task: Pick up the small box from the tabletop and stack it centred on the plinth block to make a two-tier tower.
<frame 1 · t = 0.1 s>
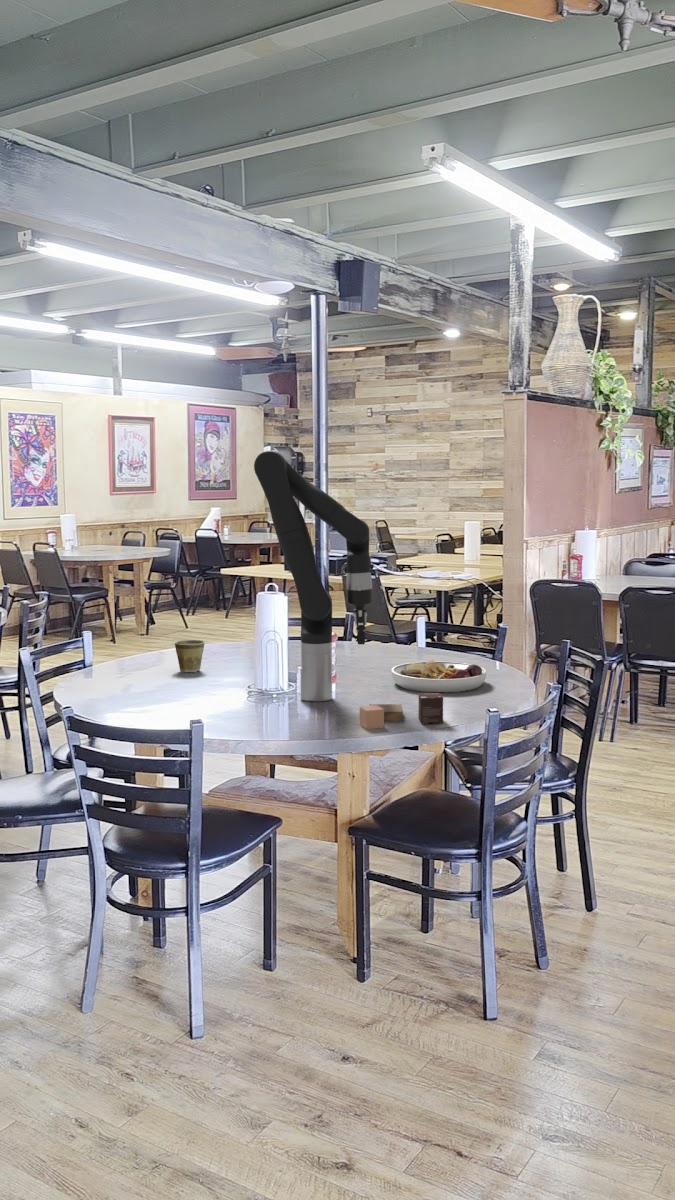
hand: (361, 641, 298), 17 cm above the table, tool pointing down, fingers open, 8 cm apart
ceramic cup: (191, 670, 345), on the table
bowl: (438, 685, 321), on the table
terracotta block: (371, 726, 268), on the table
box: (430, 722, 272), on the table
plinth: (385, 718, 278), on the table
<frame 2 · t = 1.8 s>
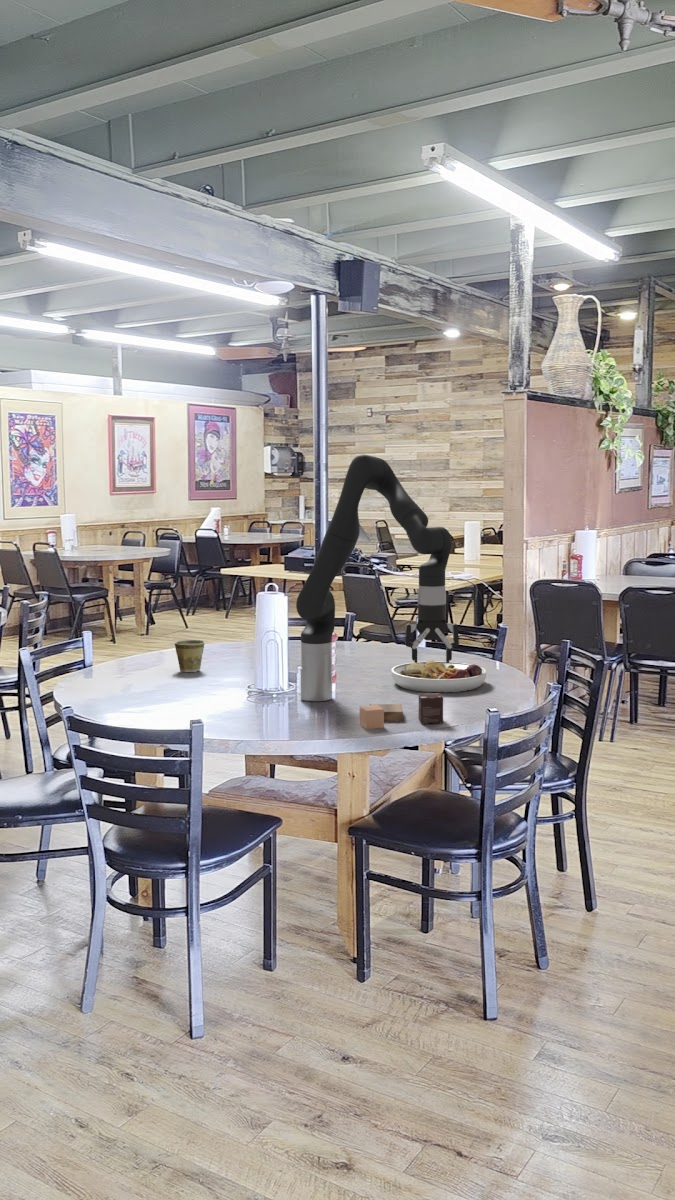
hand: (431, 662, 270), 16 cm above the table, tool pointing down, fingers open, 8 cm apart
nothing on the table moved.
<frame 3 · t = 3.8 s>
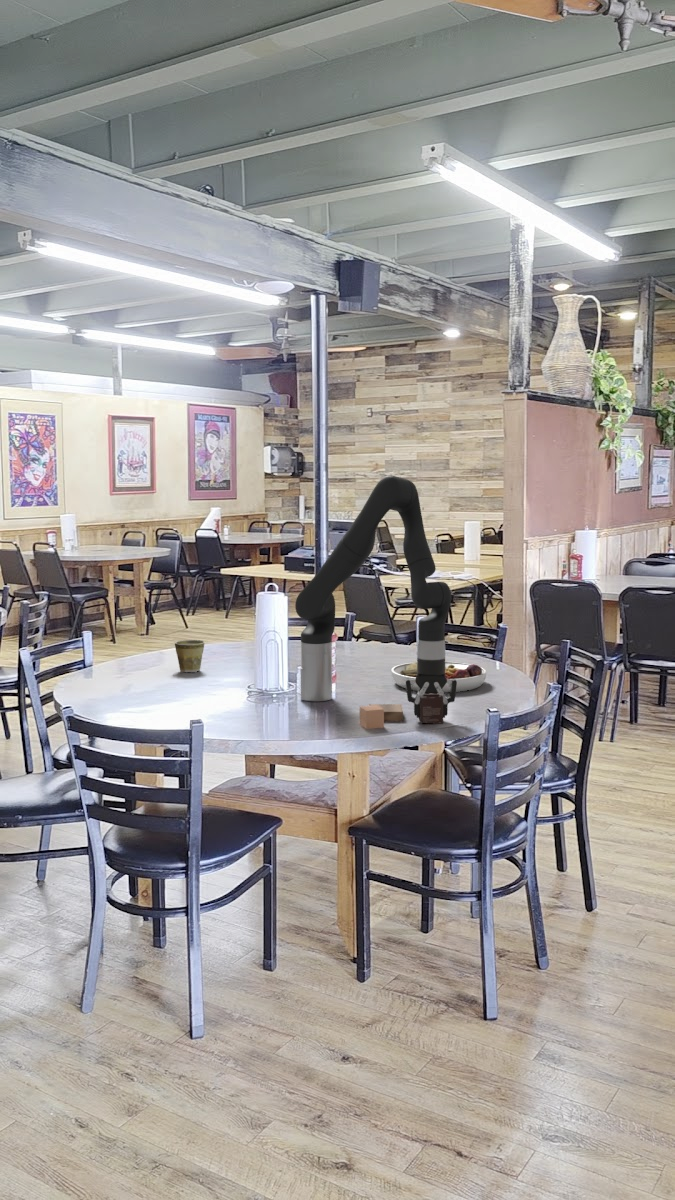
hand: (430, 716, 272), 1 cm above the table, tool pointing down, fingers closed on box, 6 cm apart
box: (430, 722, 272), on the table, touching gripper
everything else where it was.
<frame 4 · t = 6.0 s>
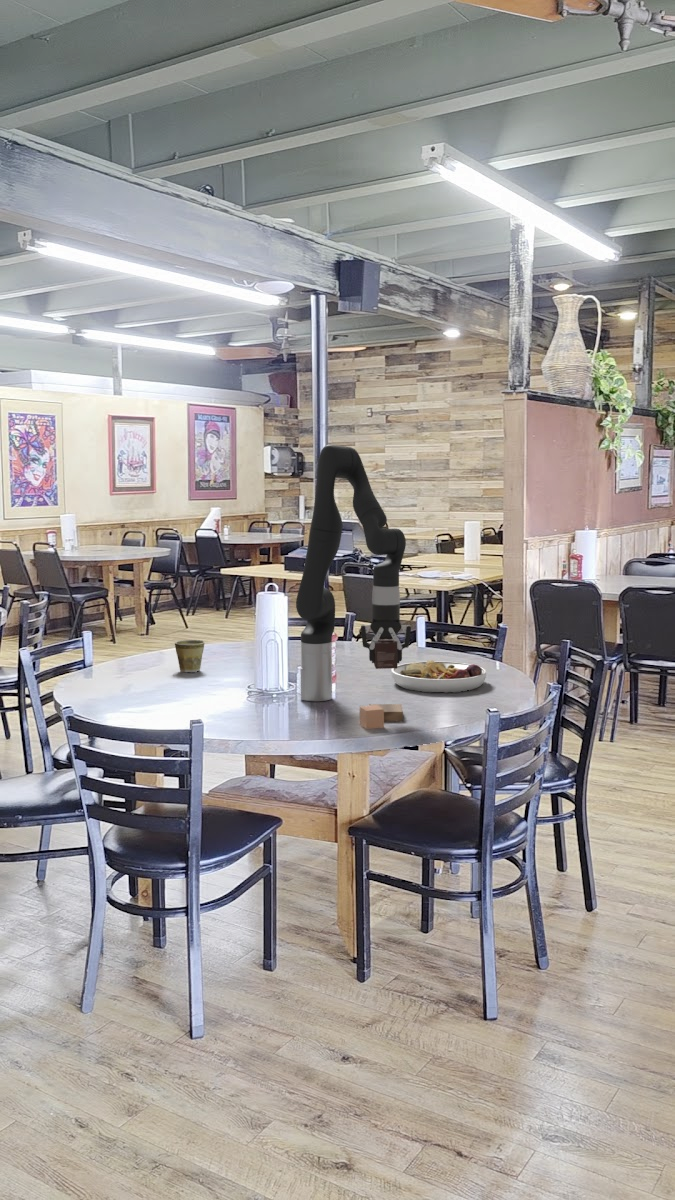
hand: (385, 662, 276), 15 cm above the table, tool pointing down, fingers closed on box, 6 cm apart
box: (385, 667, 276), point 14 cm above the table, touching gripper
everything else where it was.
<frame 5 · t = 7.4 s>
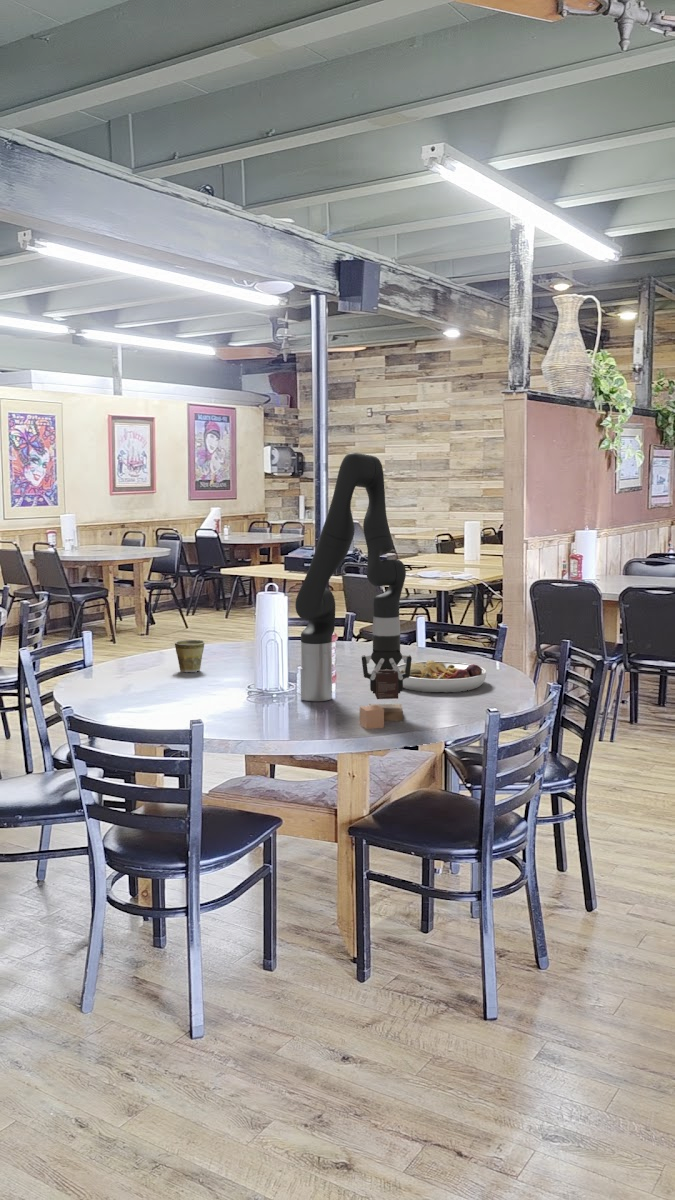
hand: (386, 692, 277), 7 cm above the table, tool pointing down, fingers closed on box, 6 cm apart
box: (386, 697, 277), point 5 cm above the table, touching gripper
everything else where it was.
when the fingers open (5 cm above the table, at t = 8.3 s): box drops 1 cm, point 2 cm above the table.
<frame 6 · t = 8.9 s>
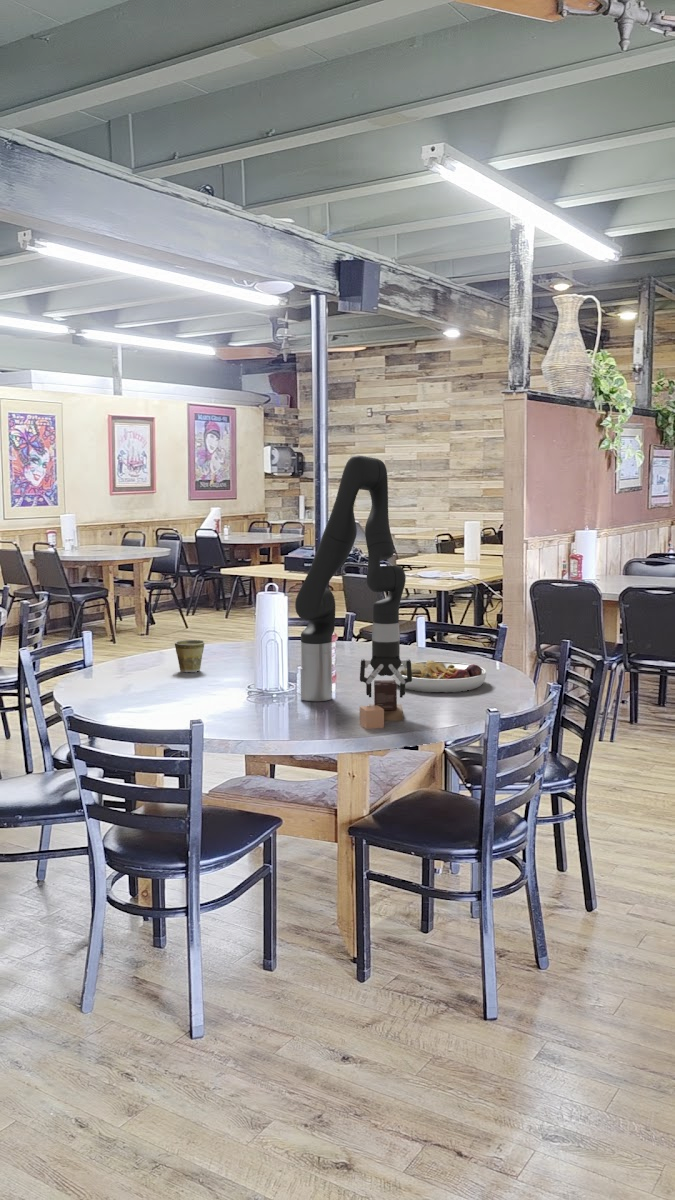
hand: (385, 696, 277), 6 cm above the table, tool pointing down, fingers open, 8 cm apart
box: (385, 709, 277), point 2 cm above the table
everything else where it was.
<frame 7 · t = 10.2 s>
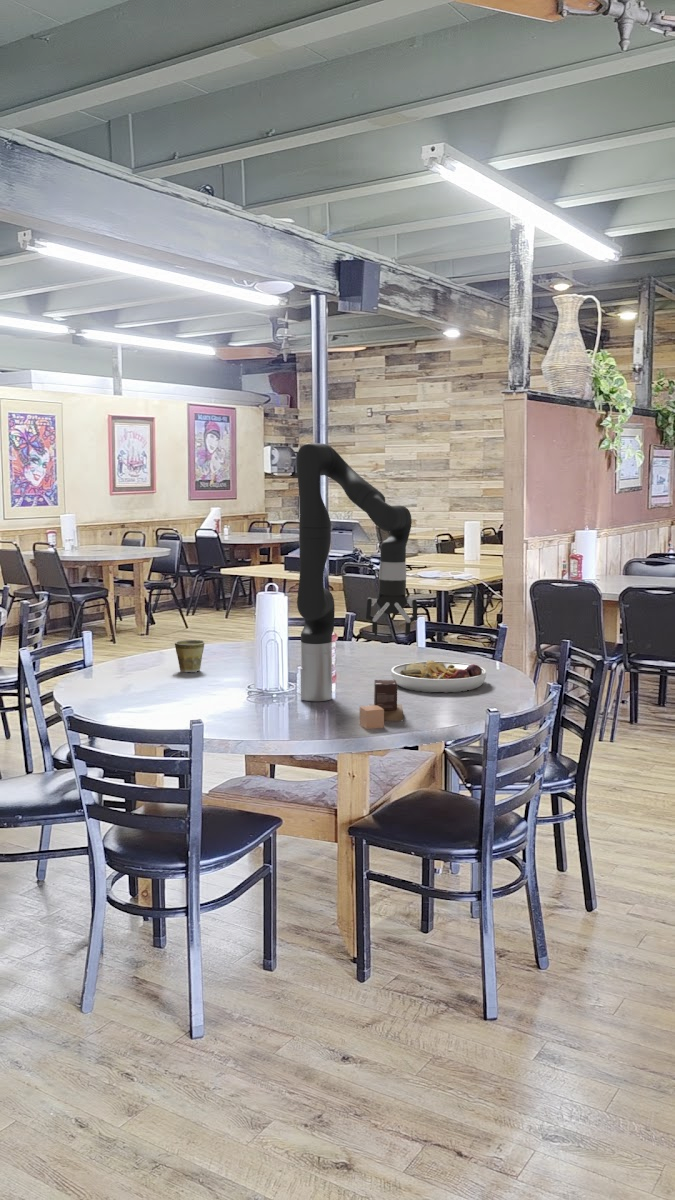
hand: (391, 635, 282), 22 cm above the table, tool pointing down, fingers open, 8 cm apart
nothing on the table moved.
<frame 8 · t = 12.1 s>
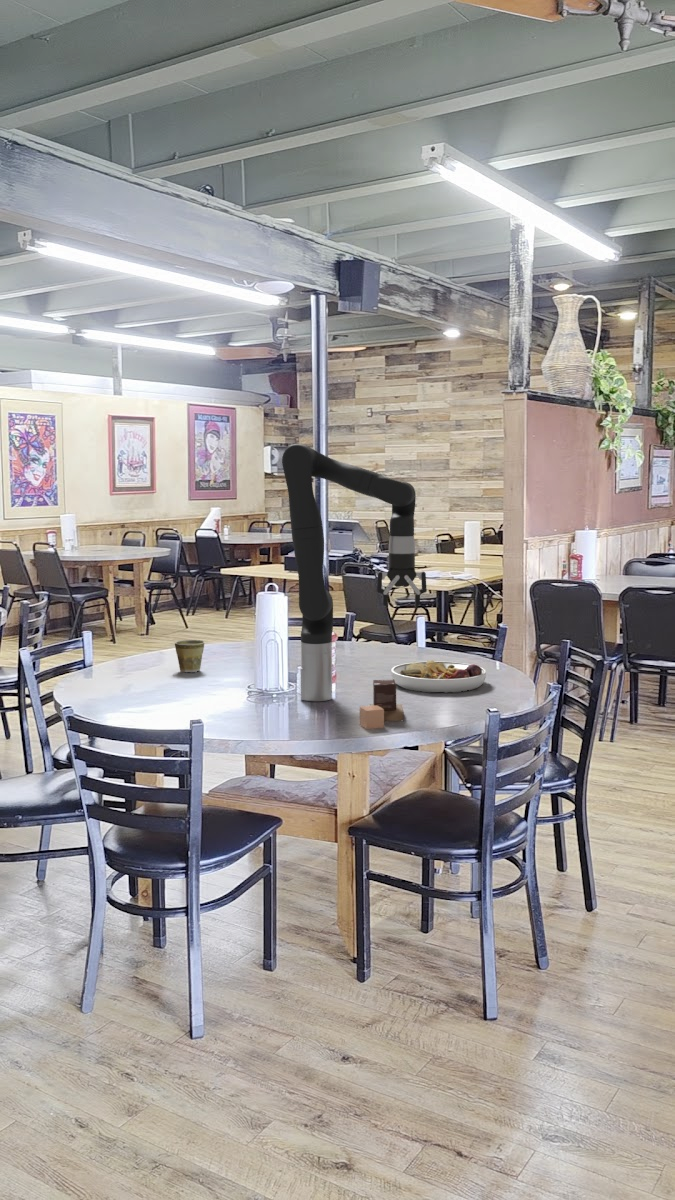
hand: (401, 607, 292), 28 cm above the table, tool pointing down, fingers open, 8 cm apart
box: (384, 708, 277), point 2 cm above the table, touching plinth
plinth: (386, 718, 278), on the table, touching box
everything else where it was.
at the end: box 0.5 cm from the plinth (horizontally); box point 2.2 cm above the table; box touching plinth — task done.
